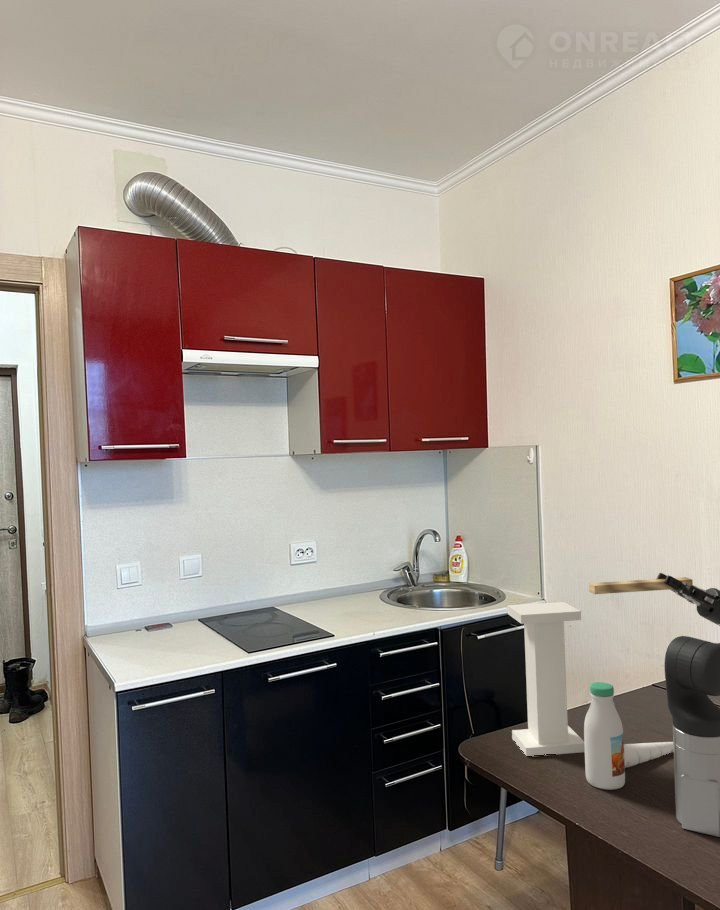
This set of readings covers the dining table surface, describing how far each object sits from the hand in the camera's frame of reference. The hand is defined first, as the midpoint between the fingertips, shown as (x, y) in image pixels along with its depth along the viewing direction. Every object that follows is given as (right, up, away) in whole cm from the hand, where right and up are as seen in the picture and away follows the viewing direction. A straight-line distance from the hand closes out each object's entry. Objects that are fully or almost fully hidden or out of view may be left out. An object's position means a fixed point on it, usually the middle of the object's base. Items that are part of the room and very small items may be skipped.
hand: (662, 577), depth 163 cm
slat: (-5, -3, 0) cm, 6 cm away
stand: (-28, -39, -3) cm, 48 cm away
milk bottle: (-21, -39, -21) cm, 49 cm away
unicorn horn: (-7, -38, -10) cm, 40 cm away
